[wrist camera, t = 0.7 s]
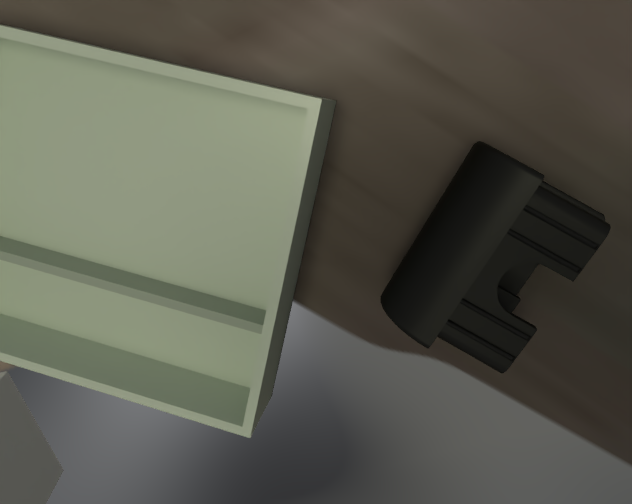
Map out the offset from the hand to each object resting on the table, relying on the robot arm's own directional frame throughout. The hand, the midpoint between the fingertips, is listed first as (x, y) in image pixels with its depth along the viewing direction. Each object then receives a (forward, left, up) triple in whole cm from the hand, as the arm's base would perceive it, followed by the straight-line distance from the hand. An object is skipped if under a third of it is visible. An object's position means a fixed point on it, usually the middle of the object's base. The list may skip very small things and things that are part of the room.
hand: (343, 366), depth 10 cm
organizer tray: (+15, +5, -22) cm, 28 cm away
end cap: (-6, +1, -23) cm, 23 cm away
